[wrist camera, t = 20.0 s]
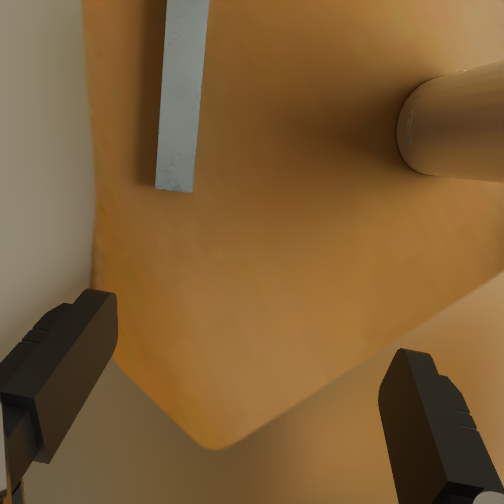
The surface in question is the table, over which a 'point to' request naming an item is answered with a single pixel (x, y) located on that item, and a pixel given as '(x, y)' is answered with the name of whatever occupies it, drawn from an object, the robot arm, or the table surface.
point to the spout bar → (181, 93)
